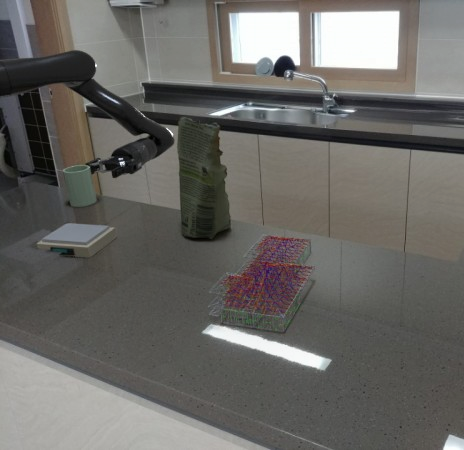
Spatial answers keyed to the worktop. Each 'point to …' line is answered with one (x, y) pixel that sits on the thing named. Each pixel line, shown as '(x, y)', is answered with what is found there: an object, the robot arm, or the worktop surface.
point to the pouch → (201, 180)
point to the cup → (79, 185)
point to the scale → (78, 239)
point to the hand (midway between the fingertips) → (98, 174)
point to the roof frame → (261, 284)
